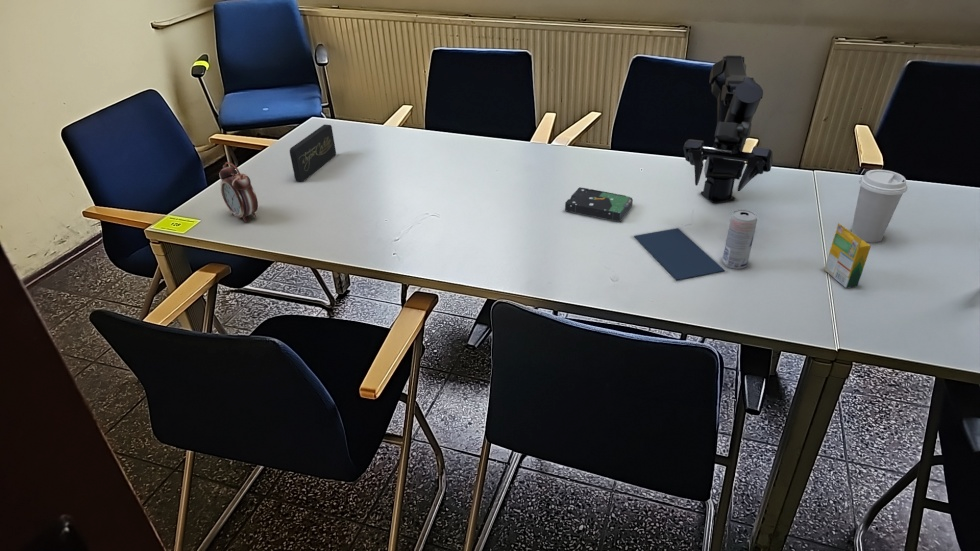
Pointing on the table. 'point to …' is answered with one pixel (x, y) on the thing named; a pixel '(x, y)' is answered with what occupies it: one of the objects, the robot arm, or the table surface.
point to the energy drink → (739, 239)
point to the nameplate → (312, 152)
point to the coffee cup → (877, 203)
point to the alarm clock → (238, 192)
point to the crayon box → (847, 257)
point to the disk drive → (599, 204)
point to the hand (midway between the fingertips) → (717, 187)
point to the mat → (678, 254)
